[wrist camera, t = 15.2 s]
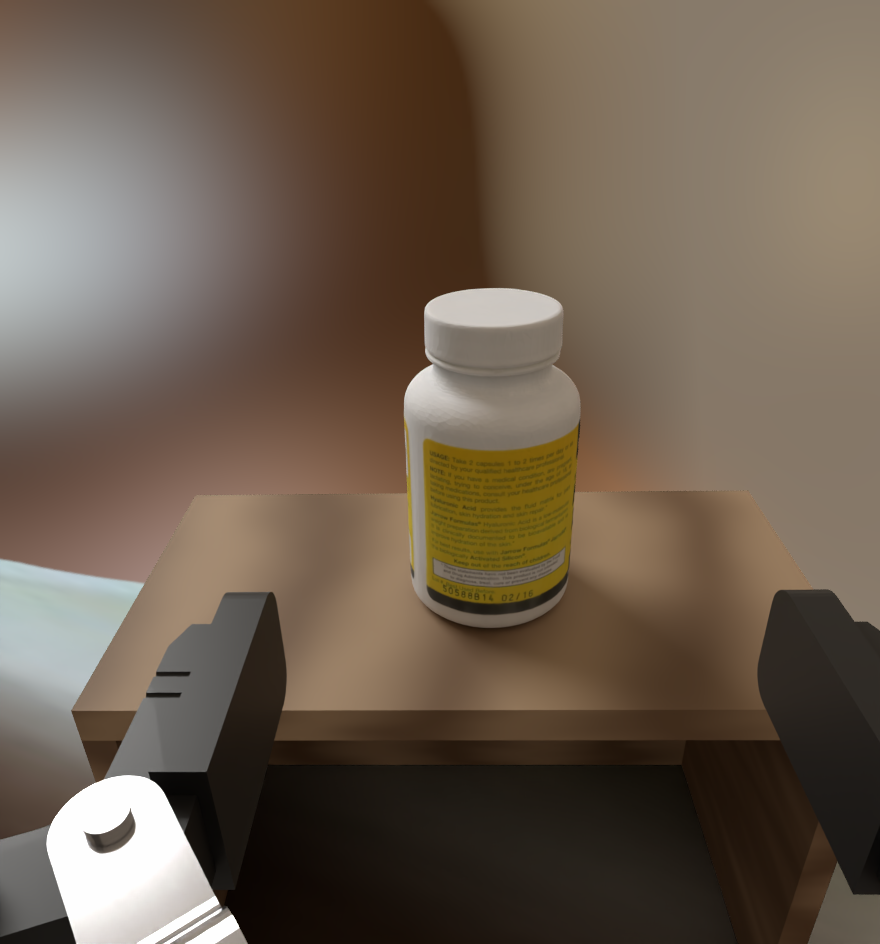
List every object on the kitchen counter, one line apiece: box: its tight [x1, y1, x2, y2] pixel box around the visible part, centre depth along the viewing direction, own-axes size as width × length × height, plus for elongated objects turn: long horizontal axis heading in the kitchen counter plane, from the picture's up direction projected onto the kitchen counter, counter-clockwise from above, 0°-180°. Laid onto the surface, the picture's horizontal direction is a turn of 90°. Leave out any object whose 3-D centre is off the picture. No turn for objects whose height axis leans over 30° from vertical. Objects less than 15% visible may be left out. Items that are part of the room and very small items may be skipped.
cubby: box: [71, 491, 837, 944], centre depth 31 cm, size 23×12×15 cm, turn 89°
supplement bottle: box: [404, 288, 580, 628], centre depth 24 cm, size 5×5×10 cm
